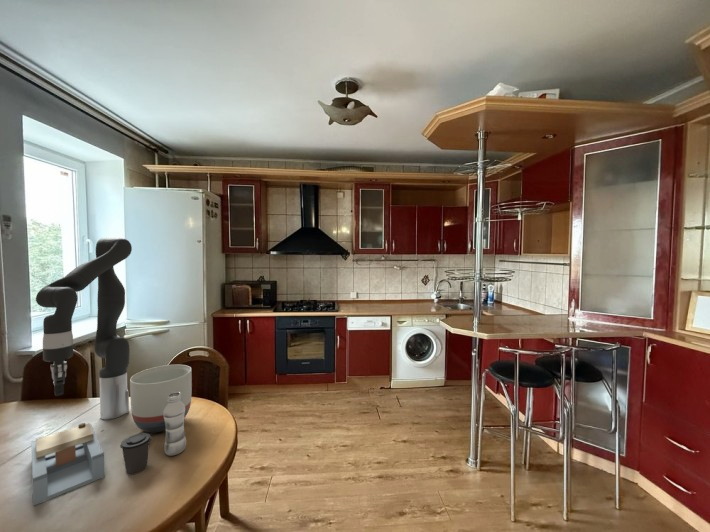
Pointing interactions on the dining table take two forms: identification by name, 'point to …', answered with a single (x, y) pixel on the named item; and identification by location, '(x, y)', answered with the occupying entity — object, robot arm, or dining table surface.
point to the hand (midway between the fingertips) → (59, 394)
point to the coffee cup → (136, 452)
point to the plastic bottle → (174, 425)
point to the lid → (63, 440)
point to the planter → (158, 394)
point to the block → (65, 456)
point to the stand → (66, 470)
